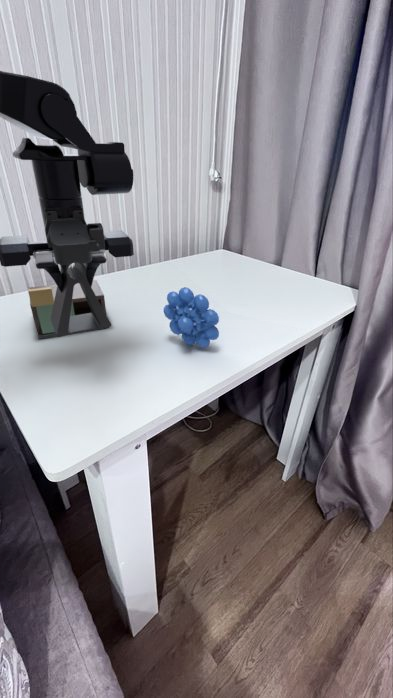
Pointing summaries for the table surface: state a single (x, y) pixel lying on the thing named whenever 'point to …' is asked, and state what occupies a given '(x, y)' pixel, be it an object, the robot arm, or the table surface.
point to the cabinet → (78, 304)
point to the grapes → (191, 317)
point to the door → (44, 307)
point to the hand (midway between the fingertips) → (77, 298)
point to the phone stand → (63, 303)
